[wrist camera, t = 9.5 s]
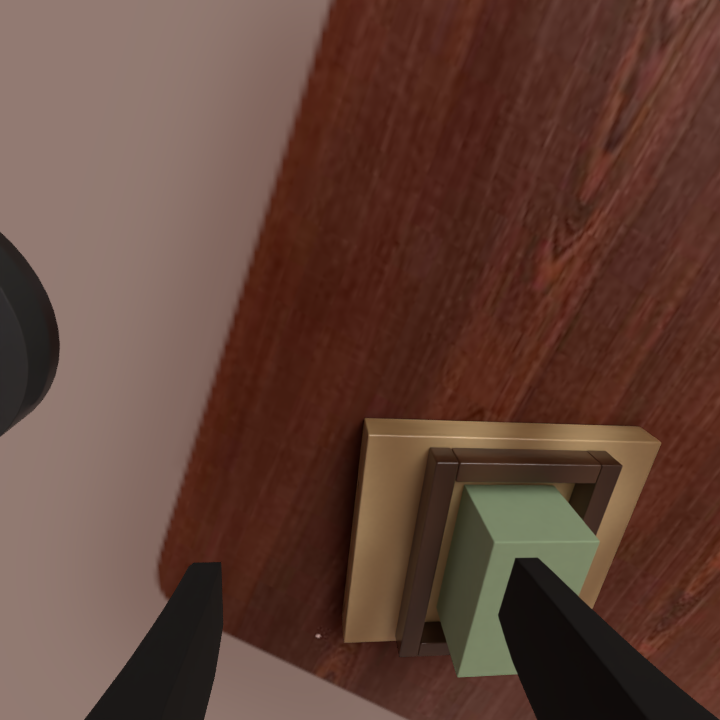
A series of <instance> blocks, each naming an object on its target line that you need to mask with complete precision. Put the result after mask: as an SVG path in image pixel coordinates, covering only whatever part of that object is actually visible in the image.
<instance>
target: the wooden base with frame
mask: <svg viewBox="0 0 720 720" xmlns="http://www.w3.org/2000/svg"><path fill="white" fill-rule="evenodd" d="M660 445H661V442H660V441H659V440H657V439H656V438H655V437H653V436H652V435H650V434H649V433H648V432H646V431H645V430H643V429H642V428H641V427H638V426H605V425H573V424H541V423H508V422H476V421H443V420H411V419H379V418H365V419H364V426H363V435H362V443H361V452H360V461H359V470H358V479H357V487H356V496H355V505H354V514H353V523H352V532H351V540H350V549H349V558H348V567H347V576H346V585H345V593H344V602H343V611H342V629H343V641H344V643H353V642H377V641H396V643H397V648H398V653H399V657H412V656H417V655H418V656H436V655H450V652H449V648H448V645H447V642H446V638H445V635H444V632H443V628H442V625H441V622H440V618H439V615H438V612H437V608H436V607H437V603H438V598H439V594H440V589H441V585H442V581H443V576H444V572H445V567H446V563H447V558H448V554H449V550H450V545H451V541H452V536H453V532H454V528H455V523H456V519H457V514H458V510H459V506H460V501H461V497H462V492H463V488H464V485H553V486H555V487H556V488H557V490H558V491H559V492H560V493H561V495H562V496H563V497H564V498H565V499H566V501H567V502H568V503H569V504H570V505H571V507H572V508H573V509H574V510H575V512H576V513H577V514H578V515H579V516H580V518H581V519H582V520H583V521H584V522H585V524H586V525H587V526H588V527H589V529H590V530H591V531H592V532H593V533H594V535H595V536H596V537H597V538H598V540H599V541H600V543H599V546H598V548H597V551H596V553H595V556H594V558H593V561H592V563H591V566H590V568H589V571H588V573H587V576H586V579H585V581H584V584H583V586H582V589H581V591H580V594H579V597H580V598H581V599H582V600H583V601H584V602H585V603H586V604H587V605H588V606H589V607H590V608H591V609H592V608H593V606H594V604H595V601H596V599H597V596H598V594H599V592H600V589H601V587H602V584H603V582H604V580H605V577H606V575H607V572H608V570H609V568H610V565H611V563H612V560H613V558H614V556H615V553H616V551H617V548H618V546H619V544H620V541H621V539H622V536H623V534H624V531H625V529H626V527H627V524H628V522H629V519H630V517H631V515H632V512H633V510H634V507H635V505H636V503H637V500H638V498H639V495H640V493H641V491H642V488H643V486H644V483H645V481H646V479H647V476H648V474H649V471H650V469H651V467H652V464H653V462H654V459H655V457H656V455H657V452H658V450H659V447H660Z"/></svg>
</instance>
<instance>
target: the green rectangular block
mask: <svg viewBox="0 0 720 720" xmlns="http://www.w3.org/2000/svg"><path fill="white" fill-rule="evenodd" d="M599 543H600V541H599V540H598V538H597V537H596V536H595V535H594V533H593V532H592V531H591V530H590V529H589V527H588V526H587V525H586V524H585V522H584V521H583V520H582V519H581V518H580V516H579V515H578V514H577V513H576V512H575V510H574V509H573V508H572V507H571V505H570V504H569V503H568V502H567V501H566V499H565V498H564V497H563V496H562V495H561V493H560V492H559V491H558V490H557V488H556V487H555V486H553V485H464V488H463V492H462V497H461V501H460V506H459V510H458V514H457V519H456V523H455V528H454V532H453V536H452V541H451V545H450V550H449V554H448V558H447V563H446V567H445V572H444V576H443V581H442V585H441V589H440V594H439V598H438V603H437V607H436V608H437V612H438V615H439V618H440V622H441V625H442V628H443V632H444V635H445V638H446V642H447V645H448V648H449V652H450V655H451V658H452V662H453V665H454V668H455V672H456V675H457V677H473V676H492V675H510V674H517V671H516V669H515V667H514V664H513V662H512V659H511V656H510V653H509V650H508V647H507V644H506V641H505V637H504V634H503V631H502V627H501V624H500V621H499V617H498V613H499V610H500V607H501V603H502V600H503V597H504V593H505V590H506V587H507V584H508V580H509V577H510V574H511V570H512V567H513V564H514V561H515V558H539V559H540V560H541V561H542V562H543V563H544V564H545V565H547V566H548V567H549V568H550V569H551V570H552V571H553V572H554V573H555V574H556V575H557V576H558V577H559V578H560V579H561V580H562V581H563V582H564V583H565V584H566V585H567V586H568V587H570V588H571V589H572V590H573V591H574V592H575V593H576V594H577V595H578V596H579V594H580V591H581V589H582V586H583V584H584V581H585V579H586V576H587V573H588V571H589V568H590V566H591V563H592V561H593V558H594V556H595V553H596V551H597V548H598V546H599Z"/></svg>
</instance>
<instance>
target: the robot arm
mask: <svg viewBox="0 0 720 720" xmlns="http://www.w3.org/2000/svg"><path fill="white" fill-rule="evenodd" d="M498 617H499V621H500V624H501V627H502V631H503V634H504V637H505V641H506V644H507V647H508V650H509V653H510V656H511V659H512V662H513V664H514V667H515V669H516V671H517V674H518V676H519V679H520V681H521V683H522V686H523V688H524V690H525V693H526V695H527V697H528V700H529V702H530V704H531V706H532V709H533V711H534V713H535V716H536V718H537V720H719V719H718V718H717V717H715V716H714V715H713V714H711V713H710V712H709V711H708V710H706V709H705V708H704V707H703V706H701V705H700V704H699V703H697V702H696V701H695V700H694V699H693V698H691V697H690V696H689V695H688V694H687V693H685V692H684V691H683V690H682V689H680V688H679V687H678V686H677V685H676V684H675V683H673V682H672V681H671V680H670V679H669V678H668V677H666V676H665V675H664V674H663V673H662V672H661V671H659V670H658V669H657V668H656V667H655V666H654V665H653V664H651V663H650V662H649V661H648V660H647V659H646V658H644V657H643V656H642V655H641V654H640V653H639V652H638V651H637V650H636V649H634V648H633V647H632V646H631V645H630V644H629V643H628V642H627V641H626V640H624V639H623V638H622V637H621V636H620V635H619V634H618V633H617V632H616V631H615V630H614V629H613V628H612V627H610V626H609V625H608V624H607V623H606V622H605V621H604V620H603V619H602V618H601V617H600V616H599V615H598V614H597V613H596V612H595V611H593V610H592V609H591V608H590V607H589V606H588V605H587V604H586V603H585V602H584V601H583V600H582V599H581V598H580V597H579V596H578V595H577V594H576V593H575V592H574V591H573V590H572V589H571V588H570V587H568V586H567V585H566V584H565V583H564V582H563V581H562V580H561V579H560V578H559V577H558V576H557V575H556V574H555V573H554V572H553V571H552V570H551V569H550V568H549V567H548V566H547V565H545V564H544V563H543V562H542V561H541V560H540V559H539V558H515V561H514V564H513V567H512V570H511V574H510V577H509V580H508V584H507V587H506V590H505V593H504V597H503V600H502V603H501V607H500V610H499V613H498ZM222 629H223V603H222V572H221V562H211V563H193V564H192V565H190V566H189V567H188V569H187V571H186V573H185V574H184V576H183V578H182V580H181V581H180V583H179V585H178V586H177V588H176V590H175V591H174V593H173V595H172V596H171V598H170V600H169V601H168V603H167V604H166V606H165V608H164V609H163V611H162V612H161V614H160V615H159V617H158V618H157V620H156V622H155V623H154V624H153V626H152V628H151V629H150V630H149V632H148V633H147V635H146V636H145V638H144V639H143V640H142V642H141V643H140V645H139V646H138V648H137V649H136V651H135V652H134V654H133V655H132V657H131V658H130V659H129V661H128V662H127V664H126V665H125V666H124V668H123V669H122V671H121V672H120V673H119V674H118V676H117V677H116V679H115V680H114V681H113V682H112V684H111V685H110V686H109V688H108V689H107V690H106V692H105V693H104V695H103V696H102V697H101V698H100V700H99V701H98V702H97V704H96V705H95V706H94V708H93V709H92V710H91V712H90V713H89V714H88V716H87V717H86V718H85V719H84V720H204V717H205V713H206V709H207V705H208V701H209V697H210V693H211V690H212V685H213V681H214V677H215V672H216V666H217V660H218V654H219V648H220V642H221V635H222Z"/></svg>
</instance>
